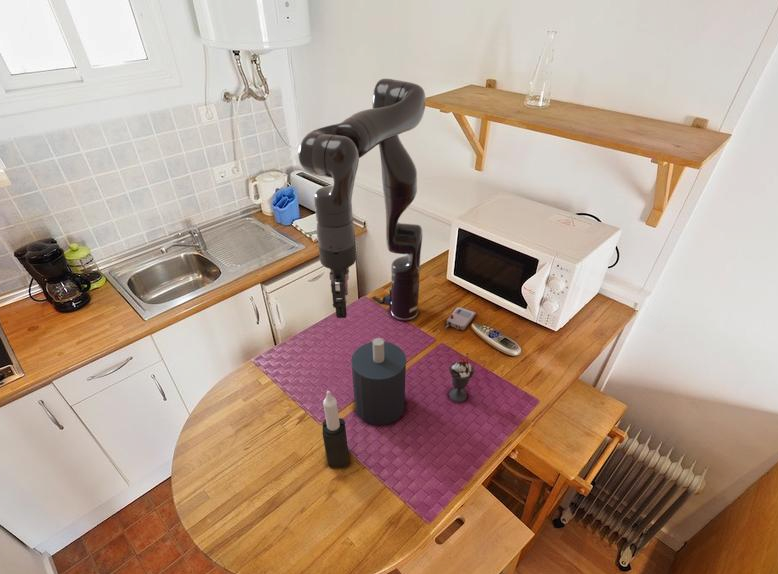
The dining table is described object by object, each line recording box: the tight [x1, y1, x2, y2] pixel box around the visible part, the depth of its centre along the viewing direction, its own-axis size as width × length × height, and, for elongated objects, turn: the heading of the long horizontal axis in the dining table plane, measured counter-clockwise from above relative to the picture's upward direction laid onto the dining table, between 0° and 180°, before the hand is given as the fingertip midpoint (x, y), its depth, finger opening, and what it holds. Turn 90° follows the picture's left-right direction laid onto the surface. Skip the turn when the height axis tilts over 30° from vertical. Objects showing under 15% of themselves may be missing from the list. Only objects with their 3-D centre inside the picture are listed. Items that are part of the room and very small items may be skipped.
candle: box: [321, 390, 350, 469], centre depth 98 cm, size 5×5×25 cm
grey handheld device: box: [444, 306, 477, 331], centre depth 146 cm, size 7×16×3 cm, turn 148°
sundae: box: [448, 352, 475, 403], centre depth 117 cm, size 7×7×15 cm
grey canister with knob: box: [350, 337, 407, 426], centre depth 111 cm, size 14×14×24 cm
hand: (342, 305), depth 97 cm, fingers open, 8 cm apart
